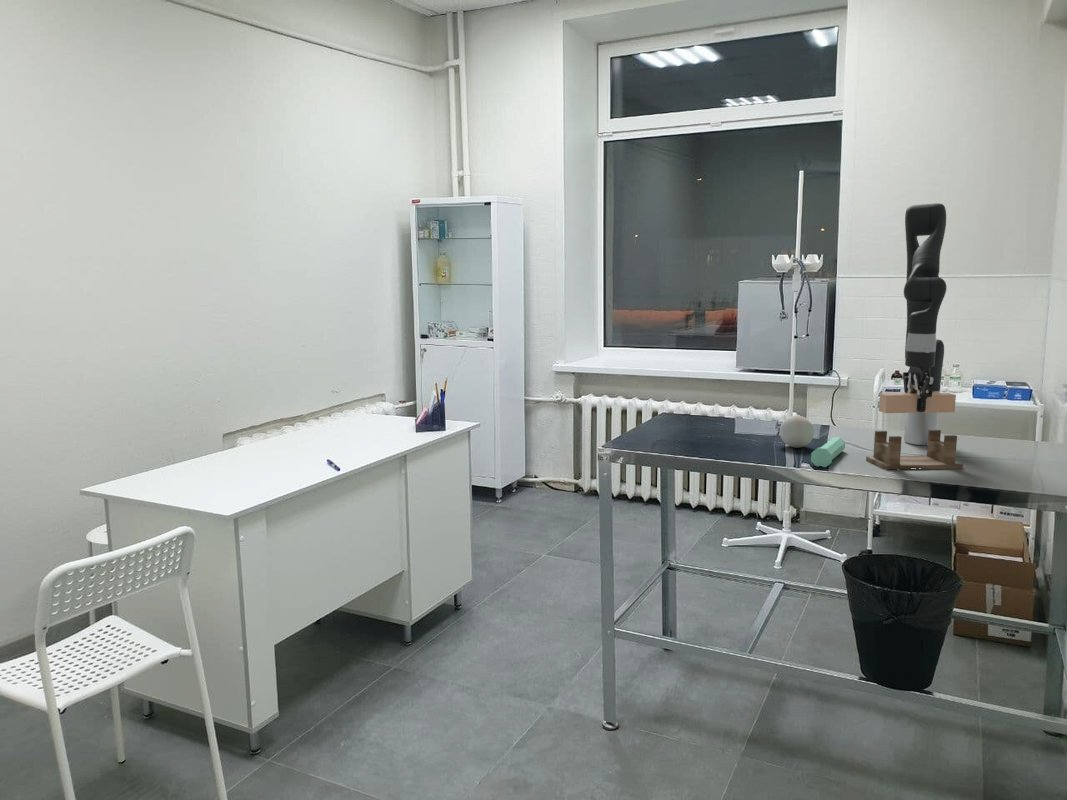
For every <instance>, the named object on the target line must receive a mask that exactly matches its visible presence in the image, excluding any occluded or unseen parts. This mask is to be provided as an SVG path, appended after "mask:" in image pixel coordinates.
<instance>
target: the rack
mask: <svg viewBox="0 0 1067 800" xmlns="http://www.w3.org/2000/svg"><path fill="white" fill-rule="evenodd" d="M941 434H942V430H940V429H937V430H929V431H928V445H926V446H927V449H926V455H925V454H923V455H922V454H921V455H920V454H919V455H901V454H902V453H901V451H902V436H900V435H897V436H896V435H892V436H891V435H890V436H888V431H887V430H874V443H873V455H871V456H870V455H869V456H866V457H865V461H867V462H869V463H870V464H872V465H875V466H877V467H879V468H880V469H881V468H882V469H883V470H885V469H886V471H889V470H888V469H891V470H890V471H893V470H892V469H911V468H916V470H952V469H953V470H956V469H959V470H960V469H963V468H964V463H960V462H959V461H956V457H957V443H958V436H957V435H956V434H948V435H946V434H945V435H943V440H941ZM887 438H888V439H887ZM919 468H921V469H919Z"/></svg>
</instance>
